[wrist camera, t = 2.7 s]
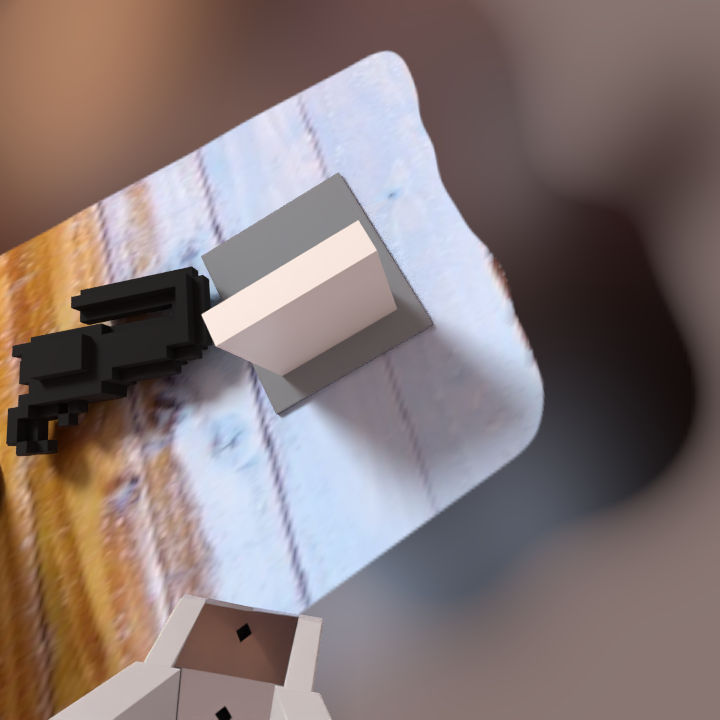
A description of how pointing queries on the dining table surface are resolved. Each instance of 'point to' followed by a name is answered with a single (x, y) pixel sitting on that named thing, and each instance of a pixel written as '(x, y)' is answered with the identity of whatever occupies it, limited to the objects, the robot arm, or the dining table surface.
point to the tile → (305, 304)
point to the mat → (291, 239)
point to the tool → (107, 352)
